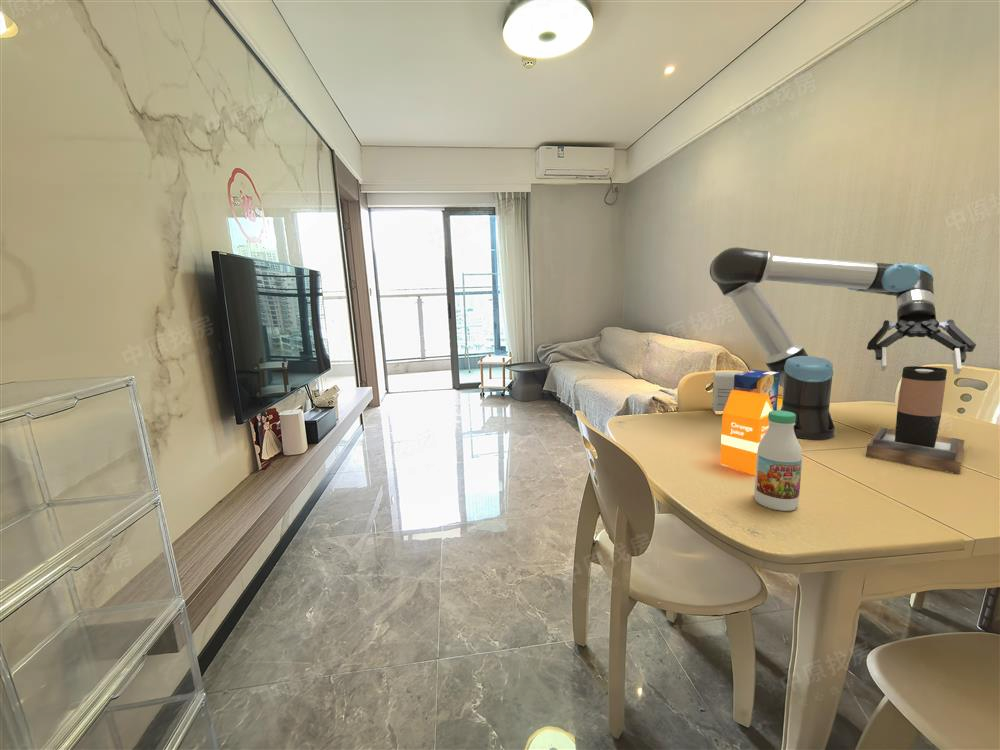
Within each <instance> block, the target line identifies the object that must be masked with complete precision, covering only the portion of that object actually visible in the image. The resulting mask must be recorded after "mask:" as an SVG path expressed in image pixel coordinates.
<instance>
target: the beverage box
mask: <svg viewBox="0 0 1000 750" xmlns="http://www.w3.org/2000/svg"><path fill="white" fill-rule="evenodd" d="M739 373H740V374H736V375H734V390H739V391H746V392H753V393H760V394H766V395H768V396H769V399H770V402H771V405H772V408H773V411H775V410H778V399H779V386H780V385H779V373H780V372H771V371H770V370H759V369H751V370H748V371H744V372H739Z"/></svg>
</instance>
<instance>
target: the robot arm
mask: <svg viewBox="0 0 1000 750" xmlns="http://www.w3.org/2000/svg"><path fill="white" fill-rule="evenodd" d="M709 276H710V279H711V280H712V282H714V284H715V283H716V285H717V287H718V288H719V290H720V291H721V293H722V295H723V296H725V297H728V298H731V299H732V302H733V303H734V304H735V306H736V308H737V310H738V311H739V313H740V314H741V316H742V317H743V319H744V321H745V323H746V324H747V326H748V328H749V329H750V331H751V332H752V334H753V335H754V337H755V339H756V340H757V343H758V344H759V345H760V347H761V349H762V350H763V352H764V354H765V355H766V358H765V360H764V363H765V365H766V367H767V368H768V371H771V372H780V373H779V385H778V386H779V387H782V388H783V389H782V401H781V402H782V404H781V408H780V411H788V412H792V413H794V414H795V415H796V421H795V425H794V432H795V436H796V438H797V439H798V438H800V439H808V440H828V439H832V438H834V437H835V432H836V431H835V425H834V421H833V418H832V416H831V413H830V404H831V394H832V383H833V376H834V365H833V363H832V361H830V360H829V359H827V358H825V357H824V358H822V357H818V356H812V355H811V356H810V355H809V354H808V353H807V352H806V350H805V349H804V347H803V346H802V345H800V344H796V343H794V341H793V340H792V338H791V336H790V334H789V332H788V331H787V329H786V328H785V326H784V324H783V323H782V321H781V320H780V318H779V317H778V315H777V314H776V311H775V310H774V309H773V307H772V306H771V303H770V302H769V300H768V299H767V297H766V296H765V294H764V292H763V290H762V289H761V287H760V286H759V285H758V284H761V283H762V282H764V281H766V282H767V281H769V282H780V283H791V284H802V285H812V286H813V285H814V286H821V287H822V286H823V287H824V286H825V287H834V288H846V289H847V290H851V291H854V292H855V291H856V292H864V293H870V294H878V295H886V296H893V297H895V298H896V318H897V319H896V320H897V321H896V322H890V320H884V321H883V324H882V327H881V328H880V329H879V330H878V331H877V332H876V333H875V335H874V336H873V337H872V338H871V339H870V340H869V341H868V343H867V347H866V350H868V351H874V353H875V360H876V361H880V372H886V368H887V348H888V347H889V346H890V345H892V344H894V343H895V342H897V341H898V340H901V339H903V338H904V337H908V338H915V337H917V338H925V337H927V338H929V339H931V340H934V341H936V342H937V343H939V344H941V345H942V346H944V347H946V348H947V349H949V350H951V351H952V353H951V357H952V358H951V359H952V366H953V367H952V368H953V375H960V372H961V371H962V369H963V367H962V363H963V364H964V363H965V361H966V360H967V353H972V352H973V351H974V349H975V348H976V346H977V344H976V342H974V341H973V340H972V339H971V338H970V337H969V336H967V334H965V332H963V331H962V330H961V329H960V328H959V327H958V326H957V325H956V322H955V320H954V319H951V318H950V319H948V320H947V321H941V322H939V321H938V320H937V312H936V301H935V293H934V276H933V272H932V271H931V268H930V267H929V266H927V265H925V264H918V263H915V264H911V263H903V262H899V263H883V262H881V263H880V262H874V261H873V262H870V261H858V260H857V261H856V260H843V259H830V258H829V259H828V258H816V257H803V256H789V255H788V256H787V255H775V254H772V253H771V252H770V251H769V250H759V249H758V250H757V249H751V248H746V247H738V246H737V247H730V248H726V249H724V250H723V251H721V252H720V253H719V254H718V255H716V256H715V257H714V258H713V260H712V261H711V264H710V267H709ZM893 328H895V329H896V331H895V332H894V333H892V334H890V335H889V336H888V337H886V338H885V339H883V338H884V336H885V335H887V333H888V331H891V330H892V329H893ZM940 328H942V330H943V331H944V332H942V331H941V329H940ZM945 332H946V333H945ZM882 339H883V340H882Z"/></svg>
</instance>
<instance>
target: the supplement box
mask: <svg viewBox="0 0 1000 750" xmlns="http://www.w3.org/2000/svg"><path fill="white" fill-rule="evenodd" d="M740 373H741V372H727V371H726V372H725V371H724V372H723V371H722V372H721V371H717V372H716V371H714V372H713V384H712V385H713V388H712V410H713V412H714V411H723V412H724V409H725V406H726V404H727V401H728V399H729V396H730V393H731V391H732V390H734V375H736V374H740Z"/></svg>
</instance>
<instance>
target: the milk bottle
mask: <svg viewBox="0 0 1000 750" xmlns="http://www.w3.org/2000/svg"><path fill="white" fill-rule="evenodd" d="M795 421H796V415H795V414H794V413H792V412H788V411H780V410H778V409H777V410H775V411H770V412H769V413H768V422H769V427H768V429H767V431H766V433H765V435H764V436H763V438H762V439H761V441H760V443H759V446H758V450H757V460H756V474H755V476H754V490H753V491H754V492H753V494H754V495H753V497H754V499H755V501H756V503H758V504H760V505H762V506H763V507H765V508H768V509H771V510H775V511H781V512H791V511H794V510H796V509H797V508H798V507H799V502H800V491H801V481H802V480H801V477H802V465H803V464H802V463H803V453H802V448H801V445H800V442H799V441H798V437H796V436H795V432H794V425H795Z"/></svg>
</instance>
